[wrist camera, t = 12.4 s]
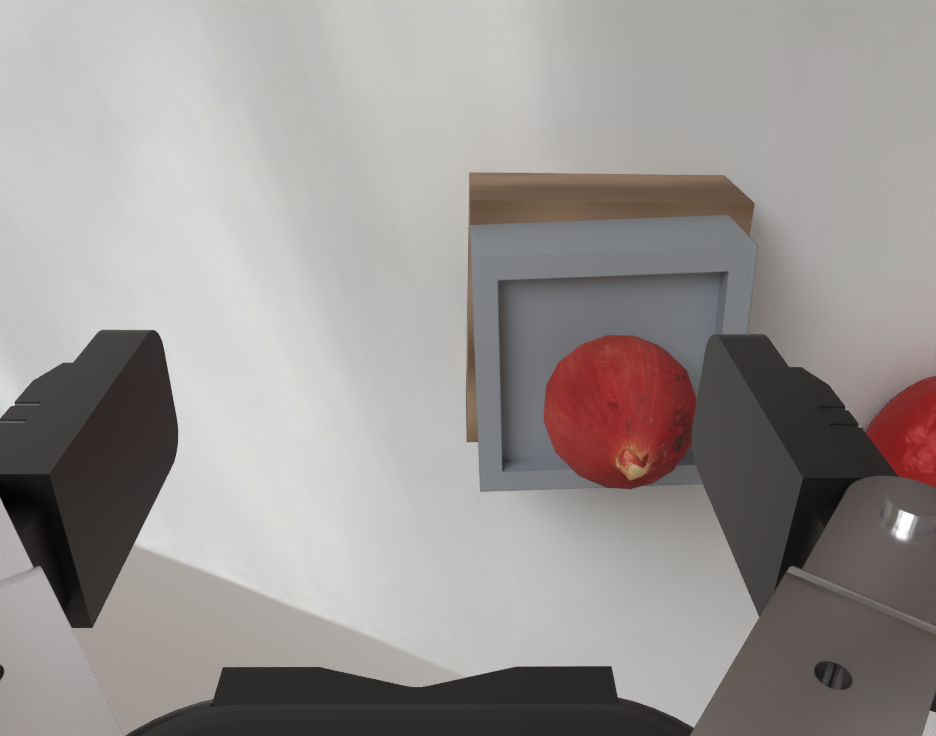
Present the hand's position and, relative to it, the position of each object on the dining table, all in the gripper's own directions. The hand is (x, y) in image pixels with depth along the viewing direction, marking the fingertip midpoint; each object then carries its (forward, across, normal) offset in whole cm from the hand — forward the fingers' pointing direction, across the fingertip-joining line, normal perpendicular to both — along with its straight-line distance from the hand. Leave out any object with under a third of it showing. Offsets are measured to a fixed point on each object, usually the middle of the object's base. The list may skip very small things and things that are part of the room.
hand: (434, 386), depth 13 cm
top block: (+23, -7, +11) cm, 27 cm away
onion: (+21, -7, +11) cm, 24 cm away
